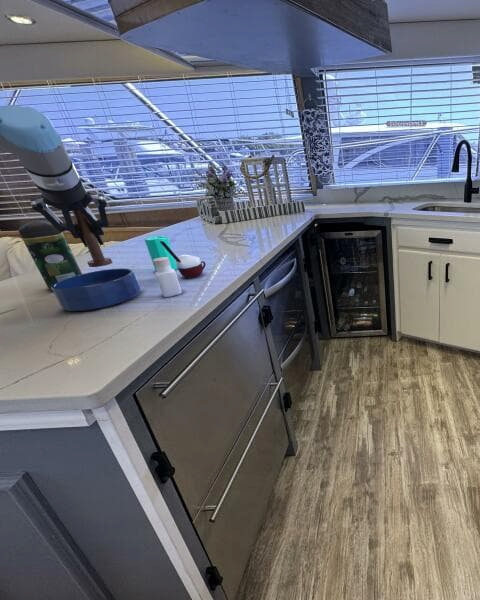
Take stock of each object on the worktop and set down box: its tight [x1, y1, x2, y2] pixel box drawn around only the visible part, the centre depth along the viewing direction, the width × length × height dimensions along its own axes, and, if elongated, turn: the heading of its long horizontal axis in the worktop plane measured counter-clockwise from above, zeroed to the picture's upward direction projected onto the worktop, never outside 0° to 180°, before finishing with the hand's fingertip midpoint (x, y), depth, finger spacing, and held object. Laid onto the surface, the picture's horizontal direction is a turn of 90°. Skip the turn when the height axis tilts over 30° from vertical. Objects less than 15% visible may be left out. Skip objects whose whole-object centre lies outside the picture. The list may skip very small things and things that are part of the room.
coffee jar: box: [17, 219, 83, 292], centre depth 89 cm, size 10×8×19 cm
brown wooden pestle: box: [71, 210, 113, 268], centre depth 85 cm, size 5×5×16 cm
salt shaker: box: [152, 257, 183, 298], centre depth 81 cm, size 4×4×10 cm
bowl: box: [51, 267, 141, 312], centre depth 80 cm, size 15×15×6 cm
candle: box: [144, 232, 178, 272], centre depth 102 cm, size 6×6×12 cm
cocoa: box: [160, 241, 206, 279], centre depth 94 cm, size 10×6×12 cm, turn 130°
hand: (93, 241), depth 89 cm, fingers closed on brown wooden pestle, 2 cm apart
